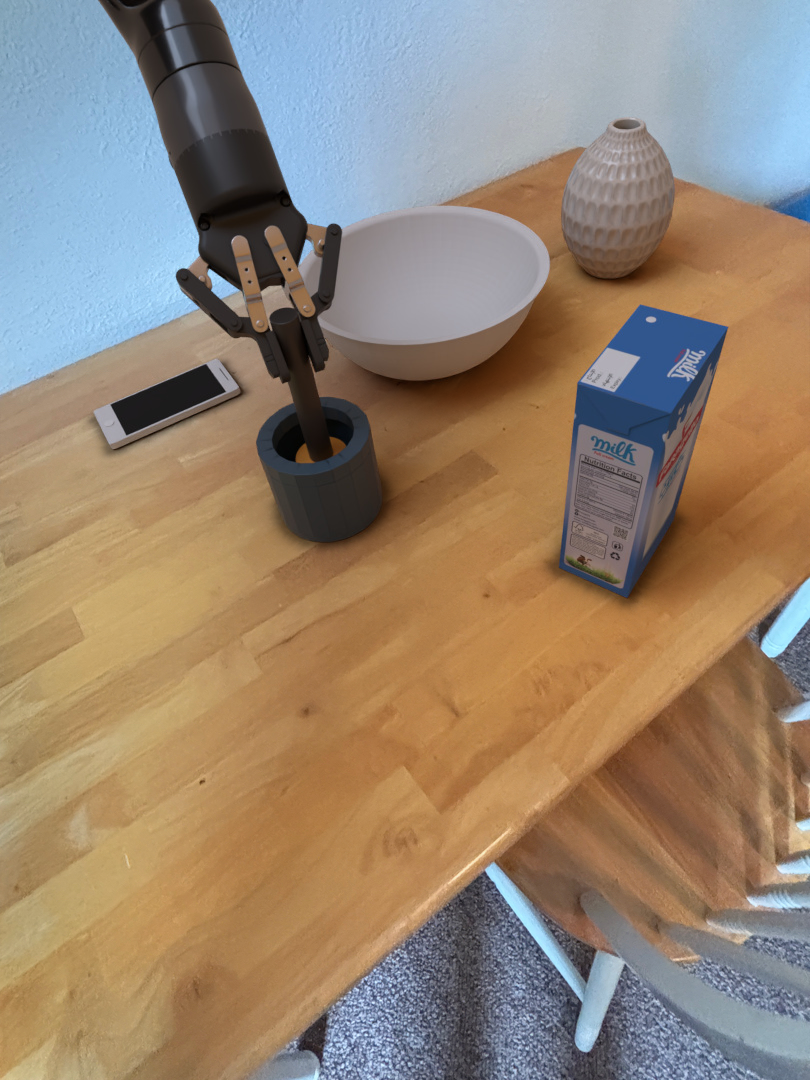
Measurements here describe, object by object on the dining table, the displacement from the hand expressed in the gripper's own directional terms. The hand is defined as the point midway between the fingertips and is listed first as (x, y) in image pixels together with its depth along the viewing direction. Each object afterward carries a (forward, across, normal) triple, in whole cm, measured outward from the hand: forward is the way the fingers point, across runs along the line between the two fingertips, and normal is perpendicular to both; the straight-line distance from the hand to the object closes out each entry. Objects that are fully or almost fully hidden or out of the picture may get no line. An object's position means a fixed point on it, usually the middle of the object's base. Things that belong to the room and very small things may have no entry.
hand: (303, 374), depth 55 cm
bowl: (-2, +18, +26) cm, 32 cm away
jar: (+10, 0, +13) cm, 17 cm away
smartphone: (-6, -12, +30) cm, 33 cm away
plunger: (+8, 0, +11) cm, 14 cm away
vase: (-5, +44, +29) cm, 53 cm away
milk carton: (+22, +21, +1) cm, 31 cm away
